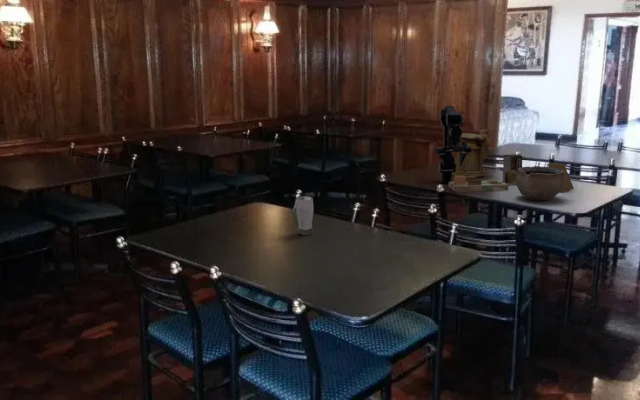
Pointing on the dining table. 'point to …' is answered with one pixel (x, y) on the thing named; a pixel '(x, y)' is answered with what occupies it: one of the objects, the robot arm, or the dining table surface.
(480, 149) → the tankard
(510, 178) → the coffee box
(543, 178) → the ceramic bowl
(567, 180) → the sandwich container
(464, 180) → the block
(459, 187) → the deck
